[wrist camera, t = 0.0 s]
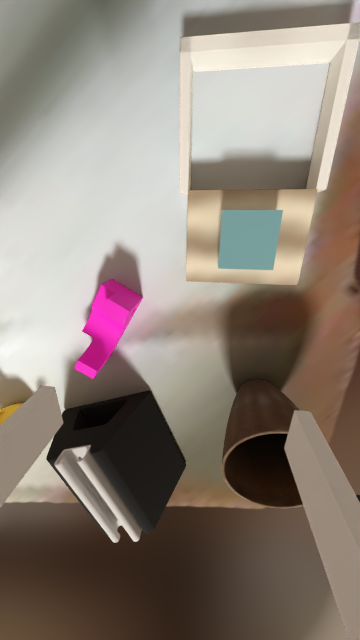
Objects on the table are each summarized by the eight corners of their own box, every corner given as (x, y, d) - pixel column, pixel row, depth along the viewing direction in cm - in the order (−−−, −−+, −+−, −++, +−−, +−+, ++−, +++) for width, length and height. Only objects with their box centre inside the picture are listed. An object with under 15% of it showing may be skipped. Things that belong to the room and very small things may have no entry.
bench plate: (190, 194, 33) (187, 190, 29) (305, 193, 31) (317, 189, 28) (188, 275, 38) (186, 281, 34) (288, 279, 36) (297, 285, 32)
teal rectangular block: (221, 211, 30) (222, 209, 27) (276, 211, 29) (283, 210, 26) (217, 265, 33) (218, 268, 30) (267, 266, 32) (273, 270, 29)
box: (183, 59, 28) (180, 37, 24) (344, 47, 26) (363, 22, 22) (182, 194, 33) (179, 190, 30) (314, 193, 31) (326, 189, 28)
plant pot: (206, 406, 48) (205, 486, 33) (237, 350, 42) (251, 416, 27) (272, 430, 48) (299, 520, 33) (311, 378, 42) (365, 458, 27)
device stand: (150, 389, 48) (127, 454, 34) (186, 461, 55) (178, 539, 42) (65, 408, 54) (15, 471, 40) (108, 472, 61) (78, 544, 47)
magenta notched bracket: (112, 278, 40) (92, 289, 33) (143, 297, 40) (129, 311, 34) (83, 341, 46) (60, 361, 39) (110, 356, 46) (93, 379, 39)
